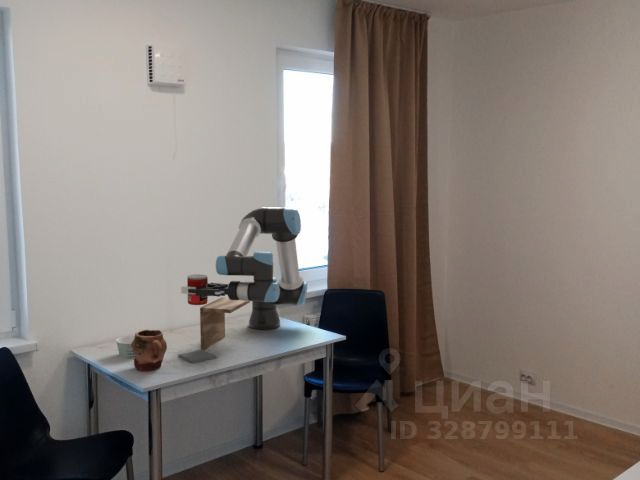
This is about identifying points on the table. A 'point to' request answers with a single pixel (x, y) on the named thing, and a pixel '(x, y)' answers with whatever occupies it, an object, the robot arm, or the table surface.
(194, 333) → the table surface
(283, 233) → the robot arm
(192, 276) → the canned food
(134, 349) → the terracotta animal pitcher
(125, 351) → the food container
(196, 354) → the rubber mat
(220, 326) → the walnut shelf
